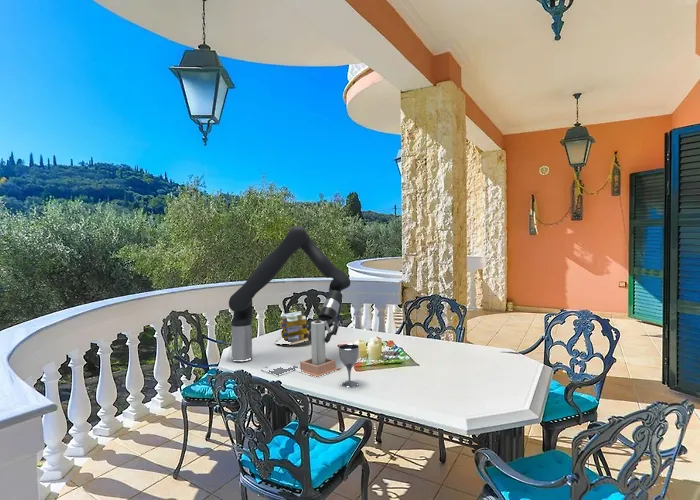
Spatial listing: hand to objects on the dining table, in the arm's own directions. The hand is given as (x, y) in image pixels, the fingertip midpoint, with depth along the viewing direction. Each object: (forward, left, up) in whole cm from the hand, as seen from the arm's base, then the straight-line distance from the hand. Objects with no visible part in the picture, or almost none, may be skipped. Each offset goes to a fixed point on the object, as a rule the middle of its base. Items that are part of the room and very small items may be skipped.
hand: (317, 341), depth 174 cm
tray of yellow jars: (-45, +27, -13) cm, 54 cm away
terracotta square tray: (0, 0, -13) cm, 13 cm away
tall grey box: (0, 0, -13) cm, 13 cm away
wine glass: (+22, -4, -13) cm, 26 cm away
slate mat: (-14, -10, -13) cm, 22 cm away
